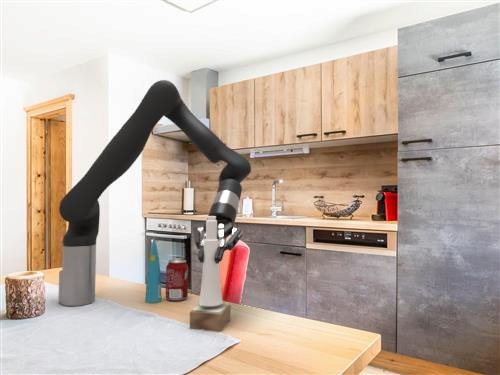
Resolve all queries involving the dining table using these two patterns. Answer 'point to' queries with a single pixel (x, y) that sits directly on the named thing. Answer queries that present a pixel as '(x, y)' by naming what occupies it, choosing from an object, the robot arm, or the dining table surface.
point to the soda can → (176, 280)
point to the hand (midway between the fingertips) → (208, 260)
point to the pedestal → (210, 317)
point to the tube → (153, 277)
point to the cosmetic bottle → (210, 267)
